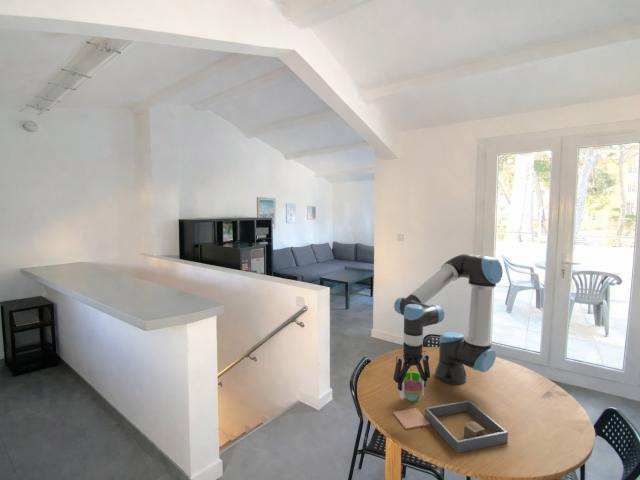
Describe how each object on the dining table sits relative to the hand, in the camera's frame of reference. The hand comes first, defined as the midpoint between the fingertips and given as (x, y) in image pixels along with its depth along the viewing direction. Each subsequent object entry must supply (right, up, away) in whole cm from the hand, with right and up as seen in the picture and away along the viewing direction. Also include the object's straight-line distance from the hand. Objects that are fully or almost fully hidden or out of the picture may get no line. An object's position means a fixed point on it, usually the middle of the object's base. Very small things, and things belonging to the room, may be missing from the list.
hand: (411, 395), depth 141 cm
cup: (+5, -9, +16) cm, 19 cm away
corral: (+19, -11, -5) cm, 23 cm away
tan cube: (+21, -12, -11) cm, 26 cm away
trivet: (0, -10, +1) cm, 10 cm away
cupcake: (0, -1, 0) cm, 1 cm away
